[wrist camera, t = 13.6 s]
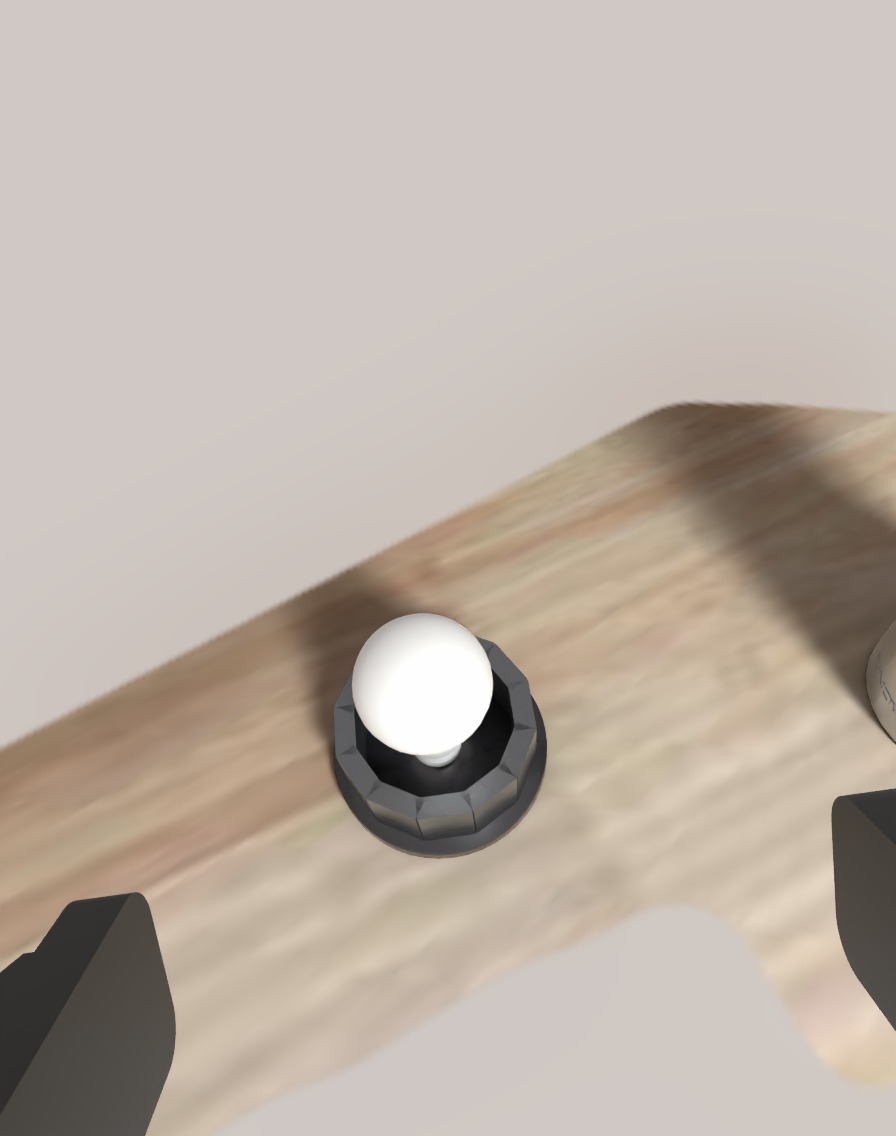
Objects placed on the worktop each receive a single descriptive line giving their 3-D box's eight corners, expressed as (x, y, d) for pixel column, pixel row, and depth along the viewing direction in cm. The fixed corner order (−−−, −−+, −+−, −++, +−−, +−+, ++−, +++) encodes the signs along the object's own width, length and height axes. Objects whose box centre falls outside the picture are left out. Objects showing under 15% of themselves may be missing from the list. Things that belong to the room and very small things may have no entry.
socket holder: (527, 644, 48) (527, 604, 44) (564, 841, 42) (568, 814, 38) (332, 671, 48) (316, 633, 44) (342, 873, 42) (324, 848, 38)
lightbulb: (406, 679, 46) (376, 571, 37) (513, 714, 44) (510, 610, 35) (360, 784, 43) (314, 694, 34) (473, 825, 41) (458, 743, 32)
